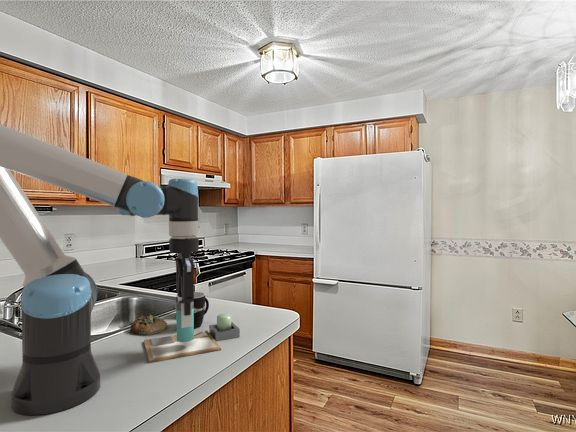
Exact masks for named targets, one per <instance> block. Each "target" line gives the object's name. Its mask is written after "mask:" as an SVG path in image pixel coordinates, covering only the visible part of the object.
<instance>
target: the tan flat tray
mask: <svg viewBox="0 0 576 432" xmlns="http://www.w3.org/2000/svg"><path fill="white" fill-rule="evenodd" d="M143 344H144V348H145V351H146V352H145V353H146V355H147V358H148V359H147V360H148V363H149V364H150V363H155V362H156V363H157V362H161V361H162V362H163V361H167V360H173V359H178V357H179V358H185V357H189V356H190V355H191V356H195V355H200V354H201V355H202V354H206V353H211V352H218V351H221V350H222V347H221V345H220V344H219V343H218V341H215V340H214V338H213V337H212V336H211V335H210V333H209V331H208V329H207V330H201V331H194V339H193V340H192V341H189V342H178V341H177V334H175V335H169V336H168V335H167V336H161V337H160V336H159V337H155V338H153V337H152V338H148V339H146V338H145V339H143ZM184 356H185V357H184Z"/></svg>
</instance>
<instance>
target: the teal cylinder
mask: <svg viewBox="0 0 576 432" xmlns="http://www.w3.org/2000/svg"><path fill="white" fill-rule="evenodd" d="M175 302H176V301H175ZM193 308H194V301H192V326H191V327H185V328H182V327H181V304H179V301H178V302H176V309H175V313H176V319H175V320H176V335H177V341H178V342H189V341H192V340H193V339H194V332H195V331H194V330H195V329H194V313H193Z"/></svg>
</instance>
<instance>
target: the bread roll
mask: <svg viewBox="0 0 576 432" xmlns="http://www.w3.org/2000/svg"><path fill="white" fill-rule="evenodd" d="M167 326H168V323H167V321H166V320H165V319H163V318H160V317H157V315H152V314H148V315H147V316H143V315H141V316H140V317H139V318H137V319H136V320H134V321H133V323H132V324H131V325H130V328H129V331H131V332H132V334H134V335H140V334H141V335H142V336H151V335H157V334H158V333H161V332H163V331H164V329H166V328H167ZM131 332H130V333H131Z"/></svg>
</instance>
